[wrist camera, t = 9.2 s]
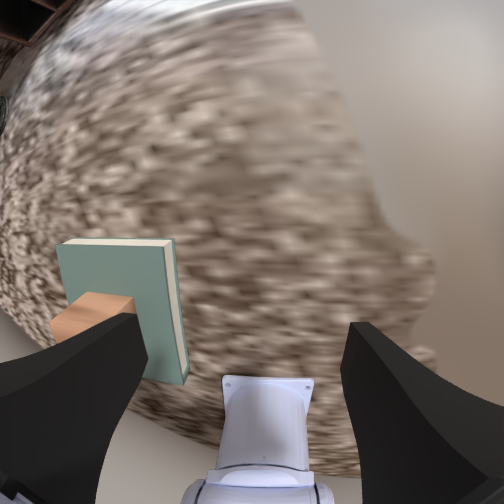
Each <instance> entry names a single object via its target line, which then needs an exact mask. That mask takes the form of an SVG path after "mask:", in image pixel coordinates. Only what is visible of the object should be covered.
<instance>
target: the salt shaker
mask: <svg viewBox="0 0 504 504" xmlns="http://www.w3.org/2000/svg"><path fill="white" fill-rule="evenodd" d="M8 111H9V102H8V99H7V97H6V96H0V135H1V134H2V132H3V130H4V127H5V124H6V121H7V117H8Z"/></svg>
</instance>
